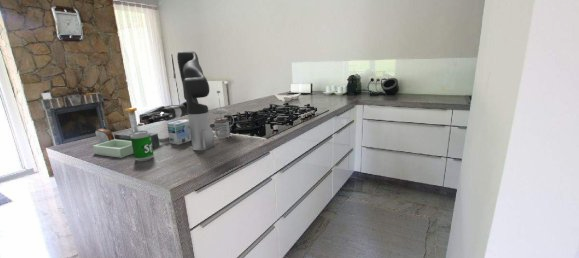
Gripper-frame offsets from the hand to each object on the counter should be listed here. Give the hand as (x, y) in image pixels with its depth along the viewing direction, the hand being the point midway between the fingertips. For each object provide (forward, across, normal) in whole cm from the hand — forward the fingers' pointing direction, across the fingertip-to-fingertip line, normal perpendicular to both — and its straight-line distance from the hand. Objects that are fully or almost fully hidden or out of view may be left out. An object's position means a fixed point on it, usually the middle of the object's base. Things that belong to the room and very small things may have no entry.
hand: (147, 118), depth 145 cm
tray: (+19, 0, +12) cm, 22 cm away
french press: (-19, +34, +12) cm, 41 cm away
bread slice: (+13, -18, +12) cm, 25 cm away
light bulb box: (-4, +18, +12) cm, 22 cm away
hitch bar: (+8, 0, +12) cm, 15 cm away
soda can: (+22, +21, +12) cm, 33 cm away
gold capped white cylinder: (+8, 0, +12) cm, 15 cm away
